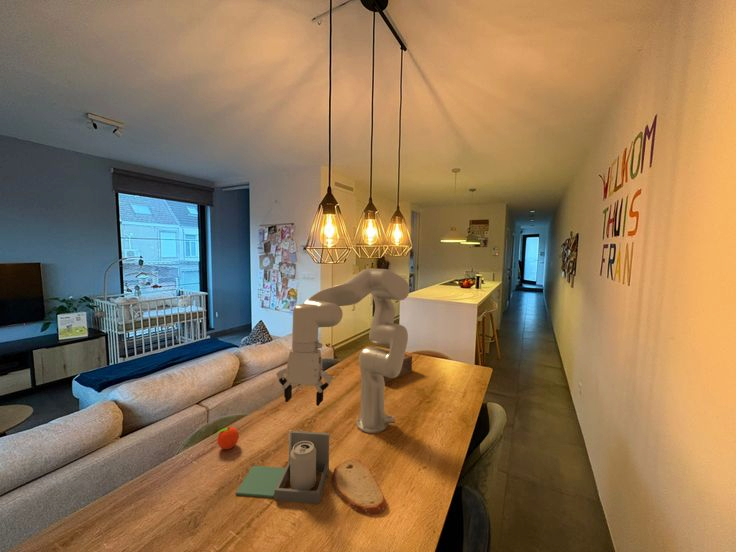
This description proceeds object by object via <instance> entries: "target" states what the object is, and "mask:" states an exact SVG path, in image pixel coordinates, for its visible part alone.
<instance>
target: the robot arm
mask: <svg viewBox="0 0 736 552" xmlns="http://www.w3.org/2000/svg"><path fill="white" fill-rule="evenodd" d="M409 293H410V285H409V283H408V281H407V280H406V279H405V278H403V277H402V276H400V275H398V273H395V272H394V271H392V270H390V269H386V268H372V267H370V268H369V267H368V268H364V269H363V270H361V271H360V272H357V274H355V275H354V276H353V277H350V278H349V279H348V280H347V281H345V282H343V283H340V284H337V285H333V286H330V287H327V288H326V289H322V290H320V291H317V292H316V293H314V294H313V295H311V296H310V297H308V298H307V299H306V300H305V301H304V302H303V303H299V304H296V305H295V306H294V307H293V309H292V334H291V335H292V336H291V337H292V340H291V349H290V351H289V353H288V358H287V364H286V367H285V368H282V369H281V370H278V371H277V372H276V376H277V379H278V382H279V383H280V384H281V386H282V388H283V390H284V394H283V395H284V396H283V397H284V398H285V399H284V401H285V402H286V403H288V402H289V401H290V400H291V399H292V398H293V397H292V396H293V395H292V393H293V386H292V384H293V385H300V386H301V385H302V386H308V387H309V386H311V387H313V386H314V388H315V389H316V390H317V391H316V394H315V395H316V397H315V405H316V406H317V407H319V406H320V404H321V403H323V402H324V401H323V400H324V390H326V389H328V387H329V385H330V384H331V382H332V380H333V376H332V375H330V374H329V373H327V372H326V371H324V370H323V359H322V352H321V350H320V349H322V348H323V343H321V342H319V341H320V340H319V328H333V327H335V326H336V325H338V324H340V322H341V321H342V319H343V309H342V307H344V306H352V305H357V304H358V303H360V302H361V301H362V300H363V299H364V298H366V297H367V296H368V295H371V296H372V298H373V303H374V314H373V318H372V321H371V325H370V329H369V334H368V337H369V338H368V339H369V340H370V343H373V344H375V345H377V346H383V347H386V348H389V350H386V349H382V348H379V347H375V346H367V347H364V348H363V349H362V350H361V351H360V352H359V356H358V364H359V370H360V413H359V414H360V415H359V416H358V417H357V418H356V423H355V424H356V427H357V428H358V429H359V430H361V431H362V432H365V433H370V434H377V433H381V432H383V431H385V430H386V429H387V427H388V423H391V424H395V423H396V418H395V417H393V414H386V411H385V390H386V389H385V385H386V383H385V382H384V378H383V376H386V377H390V378H395V377H397V376H398V375H399V373H400V371H401V368H402V364H403V360H404V355H405V354H406V351H407V350H406V349H407V345H408V341H409V335H408V330H407V328H406V327H405V326H403V325H402V324H398V323H394V322H395V315H396V309H395V305H394V303H393V301H404V300H406V299H407V298H408V296H409V295H410V294H409ZM392 300H393V301H392ZM284 374H286V376H284ZM285 377H286V378H285ZM323 379H324V380H325V382H324V383H323V382H322V380H323Z"/></svg>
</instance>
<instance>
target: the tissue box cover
mask: <svg viewBox="0 0 736 552" xmlns="http://www.w3.org/2000/svg"><path fill="white" fill-rule="evenodd" d="M412 366H413V355H410V354H407V353H405V355H404V360H403V364H402V368H401V371H400V373H399V375H398V376H397V377H395V378H390V377H386V376H383V378H384V382H385V384H386V383H388V382H390V381H393V380H395V379H398V378H400V377H404V376H405V375H408V374H411V373H412V370H413V367H412Z"/></svg>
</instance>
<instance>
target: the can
mask: <svg viewBox="0 0 736 552" xmlns="http://www.w3.org/2000/svg"><path fill="white" fill-rule="evenodd" d="M289 476H290V478H289V479H290V480H289V486H290V489H296V490H309V491H311V490H312V489H313V488H314V487H315V485H316V482H317V472H316V448H315V447H314V444H313V443H312V442H309V441H301V442H298V443H296V444H295V445H294V446H293V449H292V451H291V454H290V474H289Z"/></svg>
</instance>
